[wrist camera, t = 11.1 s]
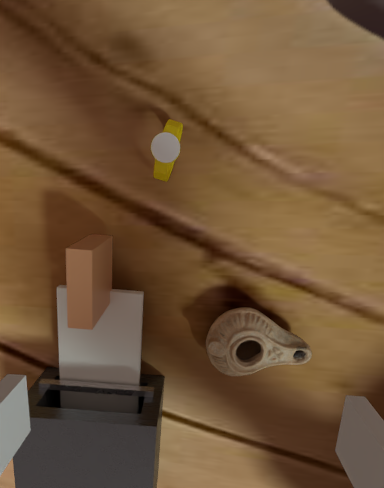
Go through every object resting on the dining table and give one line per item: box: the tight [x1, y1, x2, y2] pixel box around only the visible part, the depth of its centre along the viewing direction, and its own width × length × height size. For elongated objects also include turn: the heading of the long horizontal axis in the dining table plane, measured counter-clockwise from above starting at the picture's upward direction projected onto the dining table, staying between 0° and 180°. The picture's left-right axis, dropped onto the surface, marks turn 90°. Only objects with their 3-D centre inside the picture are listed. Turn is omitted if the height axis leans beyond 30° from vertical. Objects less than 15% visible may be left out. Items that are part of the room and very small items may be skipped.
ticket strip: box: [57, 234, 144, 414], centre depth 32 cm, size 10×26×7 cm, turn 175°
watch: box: [150, 119, 183, 182], centre depth 29 cm, size 6×3×6 cm, turn 163°
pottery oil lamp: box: [206, 307, 312, 376], centre depth 34 cm, size 9×12×7 cm
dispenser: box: [13, 367, 164, 488], centre depth 36 cm, size 16×19×8 cm
